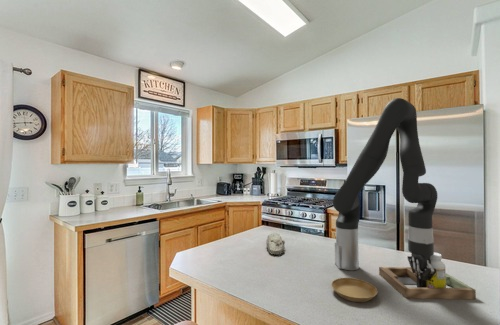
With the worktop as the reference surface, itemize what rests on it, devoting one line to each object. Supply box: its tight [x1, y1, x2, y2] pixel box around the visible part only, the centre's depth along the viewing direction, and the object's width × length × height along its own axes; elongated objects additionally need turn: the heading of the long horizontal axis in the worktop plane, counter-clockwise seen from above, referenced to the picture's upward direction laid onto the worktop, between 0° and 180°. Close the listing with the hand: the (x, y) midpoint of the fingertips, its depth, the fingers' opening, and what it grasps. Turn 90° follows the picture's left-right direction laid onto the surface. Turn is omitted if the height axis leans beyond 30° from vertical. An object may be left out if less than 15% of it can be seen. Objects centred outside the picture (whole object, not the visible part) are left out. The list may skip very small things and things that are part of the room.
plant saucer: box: [330, 277, 378, 303], centre depth 86 cm, size 15×15×3 cm
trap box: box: [378, 266, 477, 300], centre depth 92 cm, size 22×18×3 cm
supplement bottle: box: [426, 251, 447, 288], centre depth 88 cm, size 7×7×13 cm
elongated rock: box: [266, 232, 286, 256], centre depth 141 cm, size 35×5×10 cm
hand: (421, 288), depth 88 cm, fingers closed
